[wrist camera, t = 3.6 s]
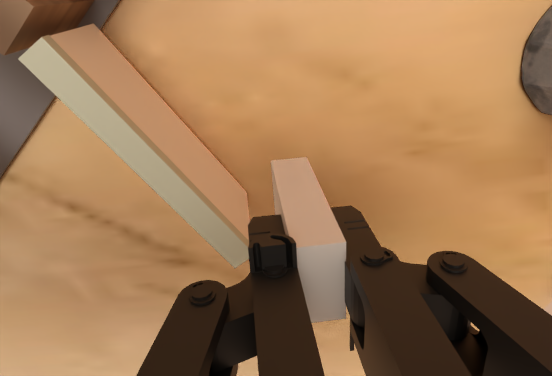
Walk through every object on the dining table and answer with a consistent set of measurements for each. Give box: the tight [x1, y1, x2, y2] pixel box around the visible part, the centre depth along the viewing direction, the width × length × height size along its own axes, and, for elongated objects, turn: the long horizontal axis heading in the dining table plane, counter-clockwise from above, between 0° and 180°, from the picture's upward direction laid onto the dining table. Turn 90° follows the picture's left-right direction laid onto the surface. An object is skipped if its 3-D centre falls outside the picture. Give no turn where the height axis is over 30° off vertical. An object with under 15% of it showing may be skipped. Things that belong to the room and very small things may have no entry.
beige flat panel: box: [18, 24, 250, 268], centre depth 23 cm, size 14×1×8 cm, turn 37°
